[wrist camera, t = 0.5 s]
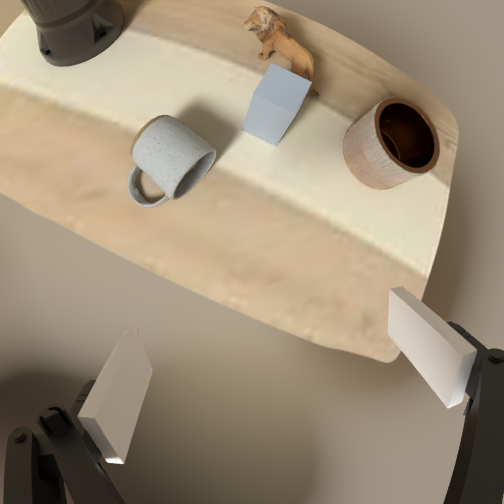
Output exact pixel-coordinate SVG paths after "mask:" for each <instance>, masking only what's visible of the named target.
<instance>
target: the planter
mask: <svg viewBox="0 0 504 504" xmlns="http://www.w3.org/2000/svg"><path fill="white" fill-rule="evenodd" d="M343 152H344V157H345V160H346V163H347V165H348V167H349V169H350V170H351V172H352V173H353V174H354V176H355V177H356V178H357V179H358V180H359V181H361V182H362V183H363V184H365V185H367V186H369V187H371V188H374V189H380V190H382V189H389V188H392V187H395V186H397V185H400V184H402V183H404V182H407V181H409V180H411V179H414V178H416V177H419V176H421V175H424V174H426V173H428V172H430V171H431V170H432V169H433V168H434V167H435V166H436V164H437V162H438V160H439V155H440V143H439V137H438V134H437V131H436V129H435V127H434V125H433V123H432V121H431V119H430V118H429V117H428V115H427V114H426V113H425V112H424V111H423V110H422V109H421V108H420V107H419V106H418V105H416V104H415V103H414V102H412V101H410V100H408V99H406V98H403V97H398V96H391V97H387V98H385V99H383V100H382V101H380V102H379V103H378V104H377V105H376V106H374V107H373V108H372V109H371V110H370V111H369V112H367V113H366V114H365V115H364V116H363V117H361V118H360V119H359V120H358V121H357V122H355V123H354V124H353V125H352V126H351V127H350V128H349V130H348V131H347V133H346V135H345V137H344V142H343Z"/></svg>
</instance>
